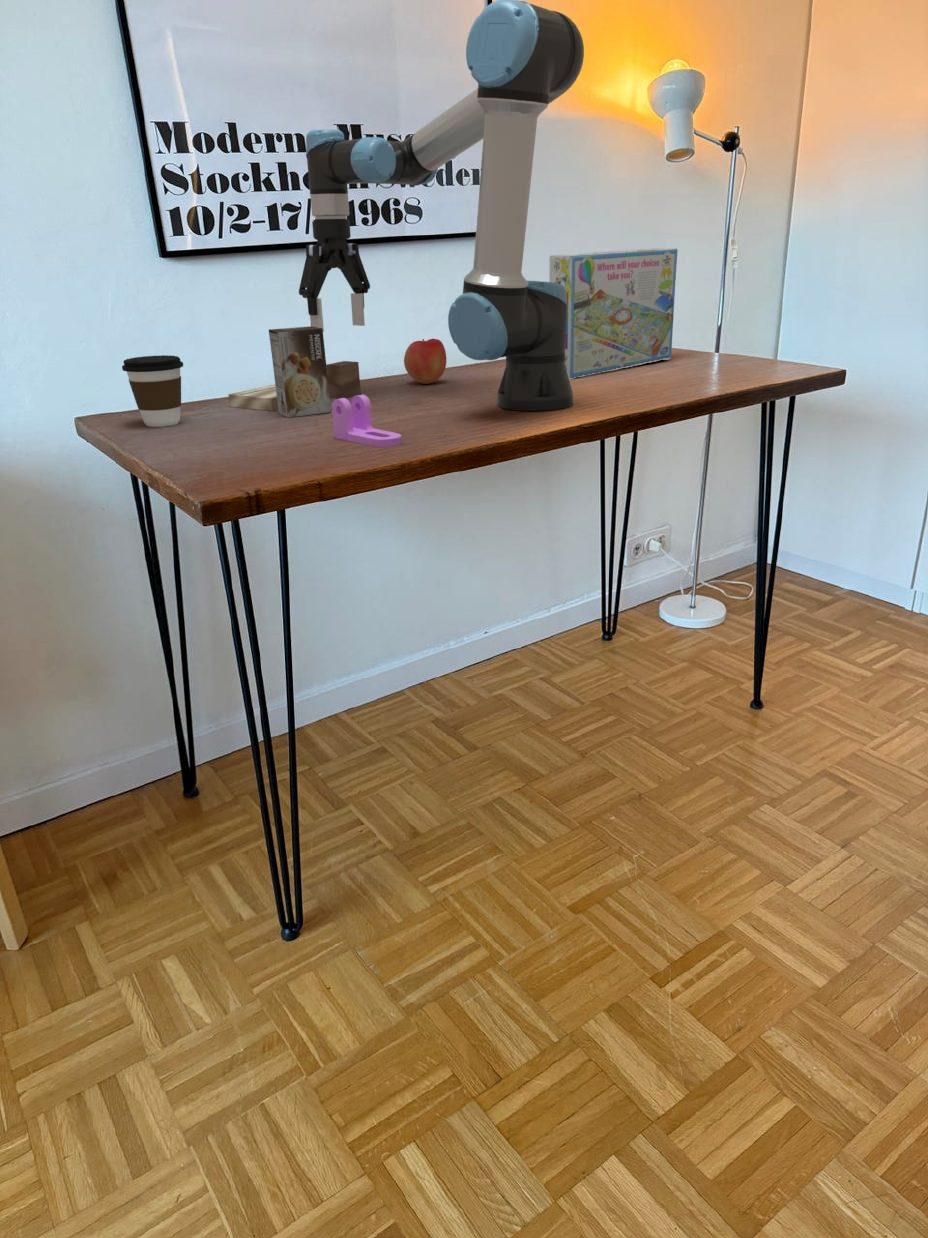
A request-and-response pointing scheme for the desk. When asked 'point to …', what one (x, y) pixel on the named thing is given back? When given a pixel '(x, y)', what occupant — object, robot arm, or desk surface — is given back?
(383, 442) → the bracket
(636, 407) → the desk surface
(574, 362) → the game box
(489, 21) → the robot arm
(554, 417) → the desk surface
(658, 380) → the desk surface
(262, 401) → the plank
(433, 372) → the apple
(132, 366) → the coffee cup
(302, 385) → the coffee box
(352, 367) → the chocolate brown block
